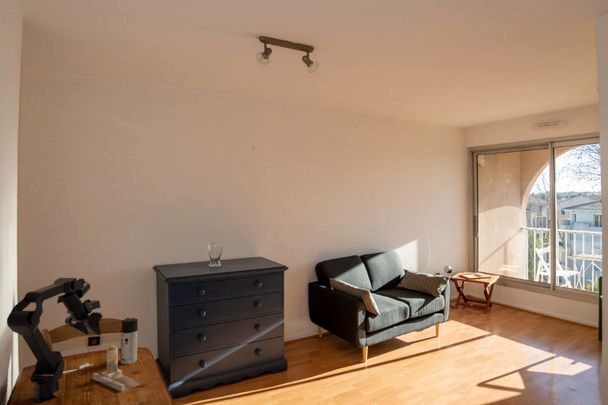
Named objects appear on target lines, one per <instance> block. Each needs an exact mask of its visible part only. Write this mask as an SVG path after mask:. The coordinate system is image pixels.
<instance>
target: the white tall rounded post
mask: <svg viewBox="0 0 608 405" xmlns="http://www.w3.org/2000/svg"><path fill="white" fill-rule="evenodd" d="M118 361H119V348H118V347H117V345H116V344H112V345H108V348H107V349H106V371H102V372H101V375H102V376H104V377H107V378H109V379H111V380H115V379H118V378H120V377H122V375H123V370H121V369H119V368H118V363H119V362H118Z"/></svg>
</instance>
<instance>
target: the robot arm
mask: <svg viewBox="0 0 608 405" xmlns="http://www.w3.org/2000/svg"><path fill="white" fill-rule="evenodd" d="M90 289H91V284H90V283H89V282H88V281H86V280H85V278H77V277H59V278H57V279H56V280H54V281H53V283H52V284H49V285H47V286H44V287H42V288H38V289H35V290H32V291H29V292H27V293H26V294H25V295H24V297H23V298H22V300H20V301H19V302H18V303H16V304H15V305H14V306H13V308H12V309H11V310H10V313H9V315H8V316H7V319H6V324H7V328H9V329H10V330H11V331H12V332H14V333H16V334H18V335H21V336H22V338H23V340H24V341H25V344H26V345H27V346H28V348H29V349H30V351H31V352H32V354H33V356H34V357H35V359H36V362H35V366H34V367H35V368H34V370H33V372H32V374H31V376H30V379H29V380H30V383H32V384H33V383H35V391H34V394H35V395H32V398H33V399H34V400H36V401H37V402H39V403H43V402H46V401H48V400H49V401H50V400H51V399H54V398H57V396H56V395H55V393H56V392H59V390H60V381H59V380H61V379H62V377H63V375H64V374H63V372H64V371H65V370H64V369H65V360H64V356H63V355H62V352H60V351H59V350H56V351H55V350H53V351H52V350H51V348H50V345H49V343H47V341H46V339H45V337H44V335H43V334H42V332H41V331H40V329H39V325H40V323H41V316H42V314H43V313H44V309H43V304H44V301H46V300H48V299H49V300H50V299H51V298H54V297H56V296H57V297H58V298H57V302H56V304H60V303H61V304H63V306H64V307H65V308H66V313H67V314H70V315H69V316H67V317H66V318H65V320H64V324H66V326H69V327H70V328H73V329H75V330H77V331H78V332H81V333H83V334H84V335H86V336H87V335H88V334H90V332H89V331H91V332H92V333H94V334H96V335H97V336H101V335H102V332H101V327H100V322H101V320H102V318H103V317H104V316H103V314H102V312H97V311H96V312H95V311H94V310H96V309H100V308H101V302H100V299H98V300H97V299H94V300H91V299H85V300H83V301H82V300H81V299H82V298H83V297H84V296H85V295H86V294H87V293H88V292H89V290H90ZM58 295H59V296H58ZM30 304H35V306H36V307H35V309H34V310H25V309H26V308H27V307H28V306H29V305H30Z"/></svg>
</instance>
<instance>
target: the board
mask: <svg viewBox="0 0 608 405" xmlns="http://www.w3.org/2000/svg"><path fill="white" fill-rule="evenodd" d="M92 380H93V381H96V382H99V383H101V384H104V385H105V386H107V387H110V388H112V389H114V390H117V391H118V392H121V393H122V392H124V391H127V390H129V389H131V388H134V387H137V386H139V385H141V384H143V382H141V381H140V380H136V379H134V378H133V377H129V376H126V375H125V374H122V377H120V378H118V379H115V380H111V379H109V378H107V377H104V376H102V374H99V373H97V372H93V373H92Z"/></svg>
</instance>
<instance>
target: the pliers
mask: <svg viewBox="0 0 608 405" xmlns="http://www.w3.org/2000/svg"><path fill="white" fill-rule="evenodd" d="M93 365H94V363H92V364H90V362H87V363H85V364H82V365H80V366H78V368H75V369H70V370H66V371H65V370H64V371H63V374H62V375H66V374H68V373H69V374H70V373H72V372H74V371H77V370H80V369H85V368H86V367H91V366H93Z"/></svg>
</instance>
